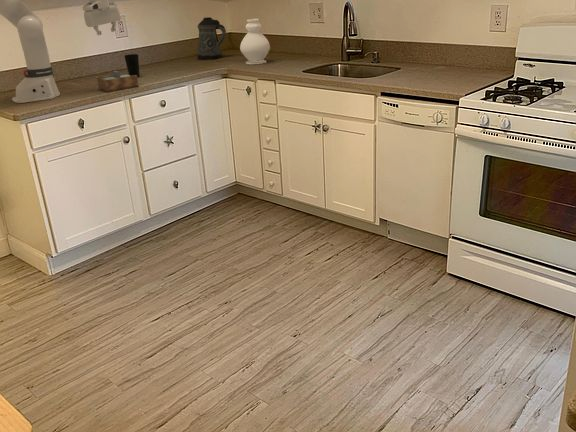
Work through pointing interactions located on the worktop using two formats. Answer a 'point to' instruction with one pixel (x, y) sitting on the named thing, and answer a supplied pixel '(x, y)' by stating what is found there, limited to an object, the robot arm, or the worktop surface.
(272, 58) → the worktop surface
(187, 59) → the worktop surface
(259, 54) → the decorative vase
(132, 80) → the walnut box
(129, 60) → the cup
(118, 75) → the cover plate
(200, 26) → the beer stein
